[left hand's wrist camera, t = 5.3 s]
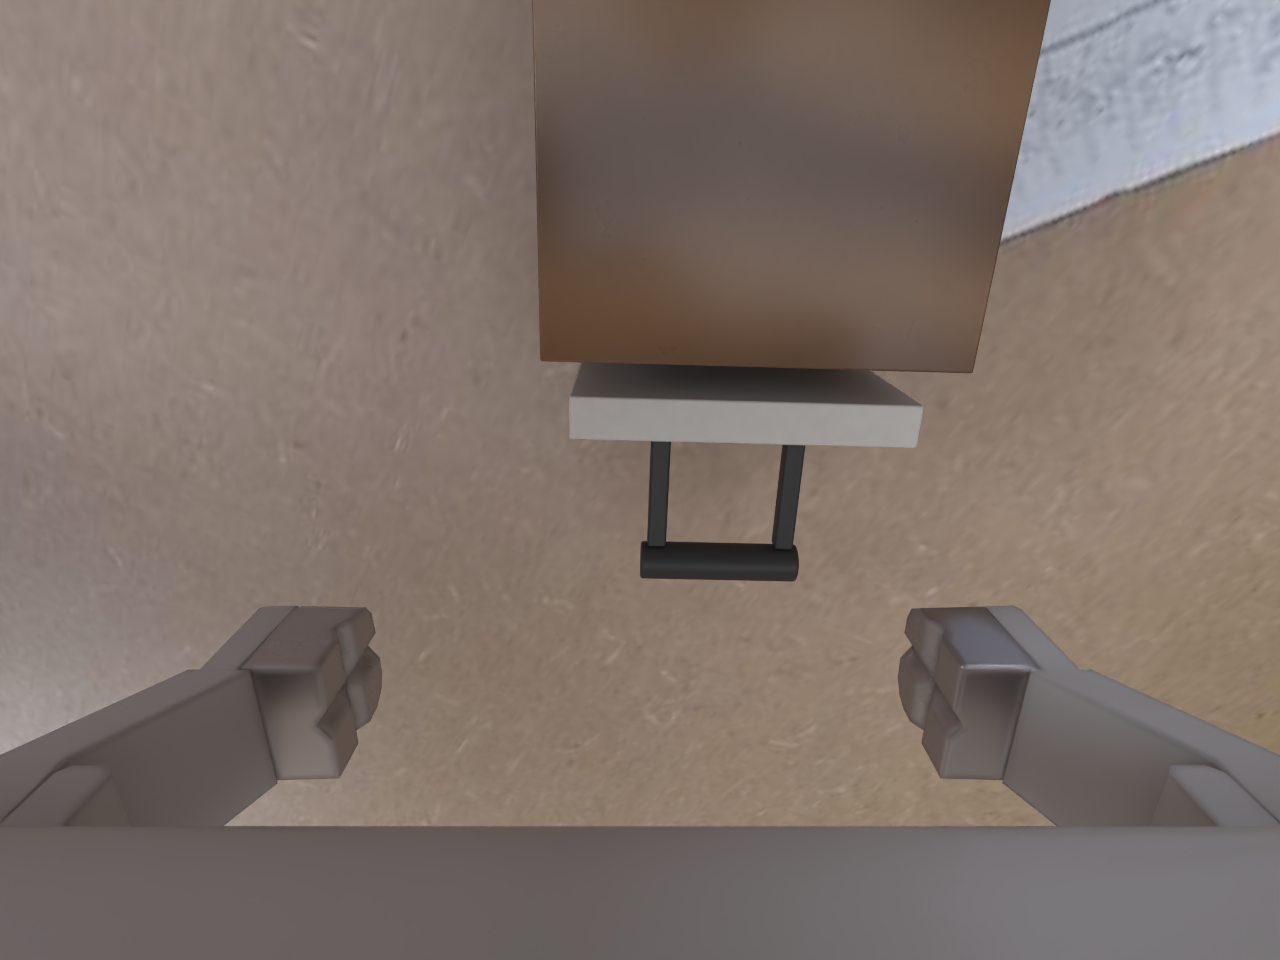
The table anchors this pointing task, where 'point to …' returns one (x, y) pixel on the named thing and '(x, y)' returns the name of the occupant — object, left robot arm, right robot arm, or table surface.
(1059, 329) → the table surface
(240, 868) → the left robot arm
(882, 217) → the cabinet
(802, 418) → the drawer
